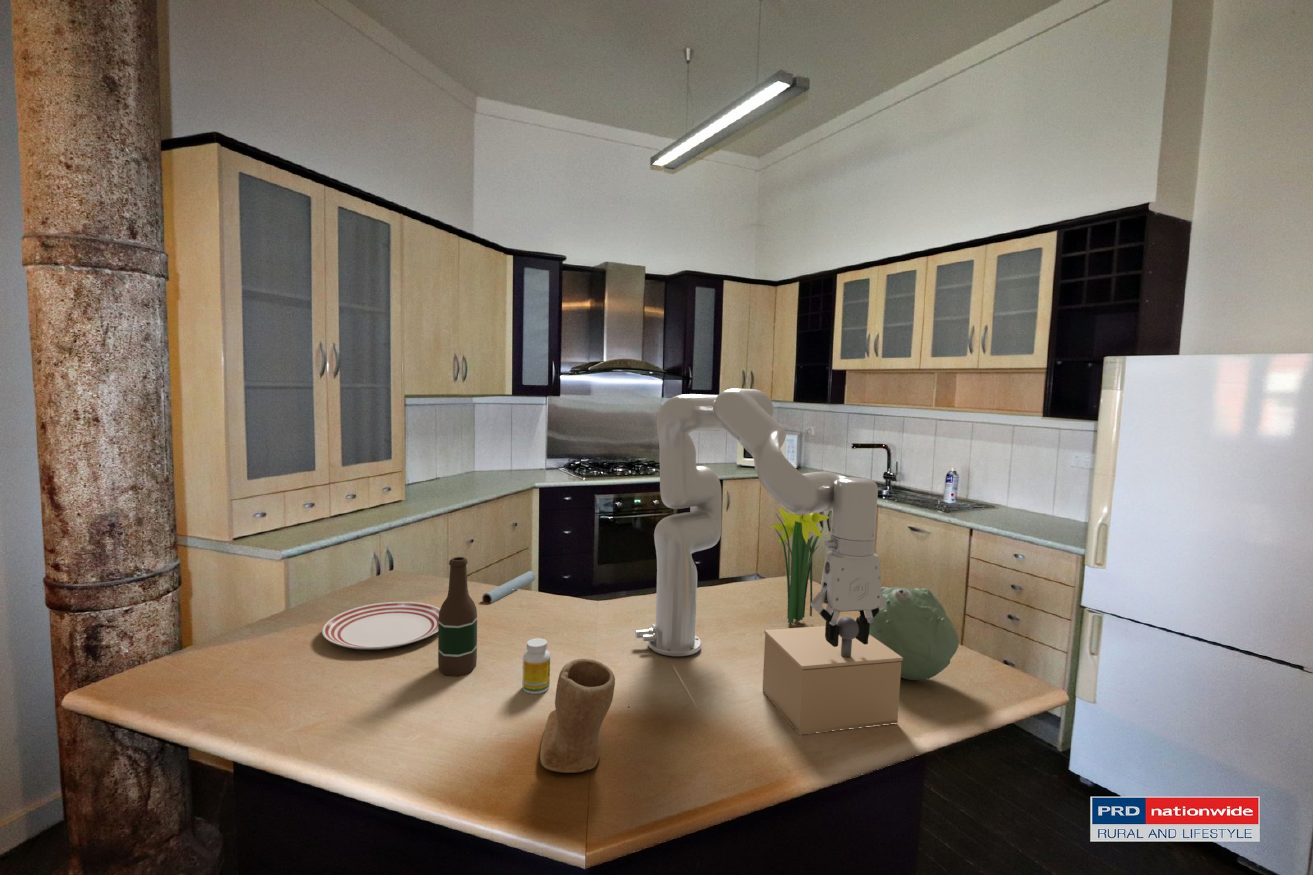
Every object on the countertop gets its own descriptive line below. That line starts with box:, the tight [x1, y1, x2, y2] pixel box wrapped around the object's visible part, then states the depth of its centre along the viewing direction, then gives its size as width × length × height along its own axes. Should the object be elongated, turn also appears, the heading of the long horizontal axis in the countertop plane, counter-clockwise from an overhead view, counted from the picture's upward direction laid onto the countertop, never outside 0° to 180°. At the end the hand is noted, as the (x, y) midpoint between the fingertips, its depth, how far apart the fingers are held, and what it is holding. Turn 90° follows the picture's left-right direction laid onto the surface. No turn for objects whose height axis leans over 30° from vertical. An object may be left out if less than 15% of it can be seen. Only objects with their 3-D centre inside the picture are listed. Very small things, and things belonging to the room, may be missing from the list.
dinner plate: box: [321, 601, 441, 650], centre depth 143 cm, size 28×27×3 cm
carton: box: [762, 633, 902, 736], centre depth 115 cm, size 20×16×12 cm
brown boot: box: [539, 658, 616, 774], centre depth 99 cm, size 15×12×15 cm
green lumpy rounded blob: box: [869, 586, 960, 681], centre depth 129 cm, size 16×19×20 cm
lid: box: [763, 616, 903, 669], centre depth 114 cm, size 20×16×8 cm
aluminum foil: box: [481, 570, 536, 604], centre depth 175 cm, size 23×7×3 cm, turn 160°
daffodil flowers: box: [769, 507, 830, 624], centre depth 159 cm, size 17×15×35 cm
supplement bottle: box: [522, 637, 551, 695], centre depth 119 cm, size 5×5×10 cm
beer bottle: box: [437, 556, 478, 678], centre depth 125 cm, size 8×8×24 cm
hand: (846, 641), depth 109 cm, fingers open, 5 cm apart
